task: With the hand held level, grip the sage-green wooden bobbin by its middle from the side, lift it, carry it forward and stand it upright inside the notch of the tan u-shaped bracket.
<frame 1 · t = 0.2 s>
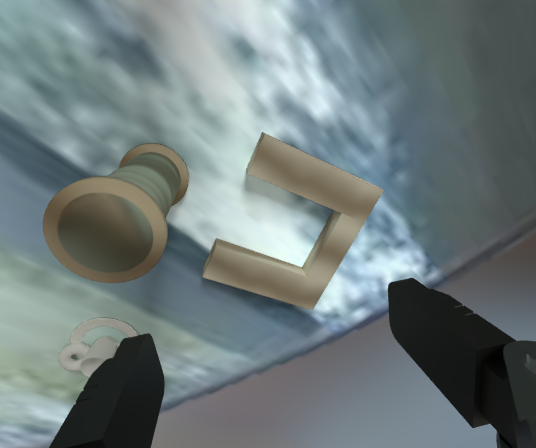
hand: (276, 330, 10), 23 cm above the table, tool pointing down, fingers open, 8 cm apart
bobbin: (155, 176, 30), on the table
teacup and saucer: (86, 327, 36), on the table
tan u-shaped bracket: (288, 227, 34), on the table
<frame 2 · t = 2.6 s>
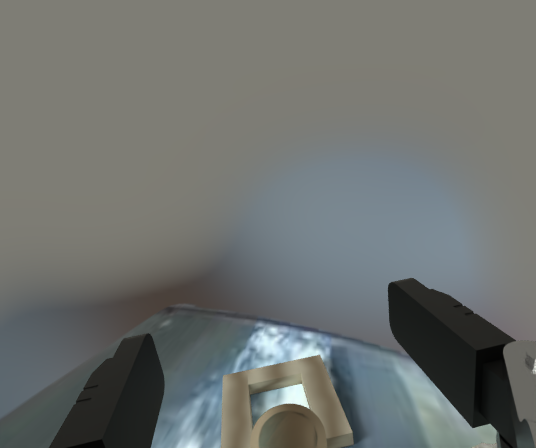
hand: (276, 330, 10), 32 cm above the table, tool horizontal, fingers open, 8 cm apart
tan u-shaped bracket: (280, 410, 44), on the table
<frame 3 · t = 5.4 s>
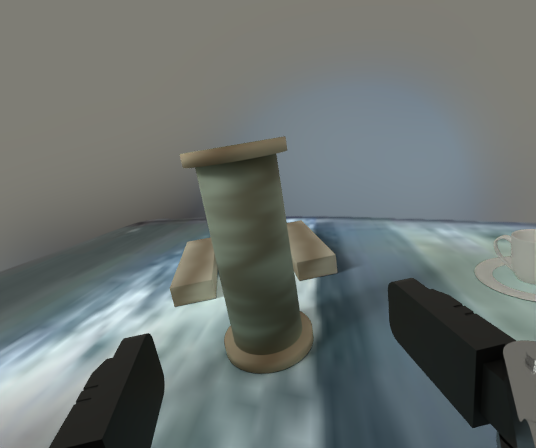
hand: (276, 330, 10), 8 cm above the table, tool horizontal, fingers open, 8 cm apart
bobbin: (269, 340, 22), on the table
tan u-shaped bracket: (252, 262, 36), on the table
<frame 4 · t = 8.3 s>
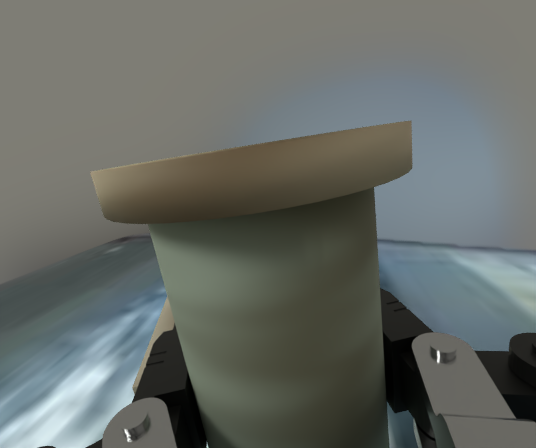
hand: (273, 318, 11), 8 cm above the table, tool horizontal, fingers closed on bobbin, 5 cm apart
tan u-shaped bracket: (265, 317, 25), on the table
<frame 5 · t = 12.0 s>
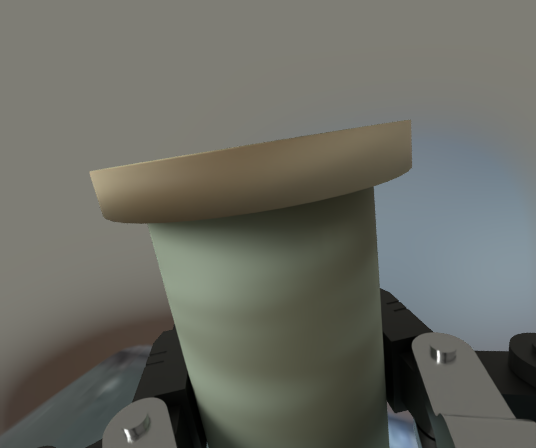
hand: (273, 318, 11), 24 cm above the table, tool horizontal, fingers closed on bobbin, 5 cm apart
when the fingers open (9 cm above the table, at t = 16.1 s): bobbin drops 1 cm, resting in tan u-shaped bracket.
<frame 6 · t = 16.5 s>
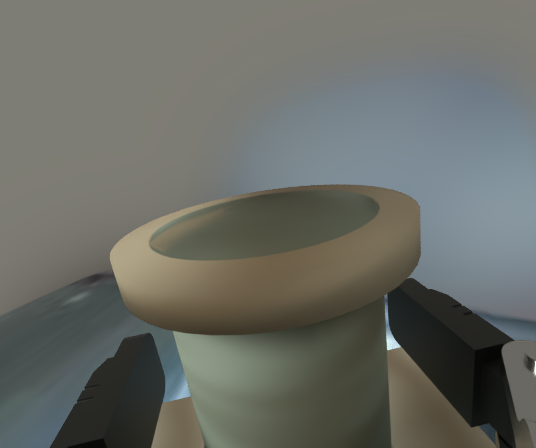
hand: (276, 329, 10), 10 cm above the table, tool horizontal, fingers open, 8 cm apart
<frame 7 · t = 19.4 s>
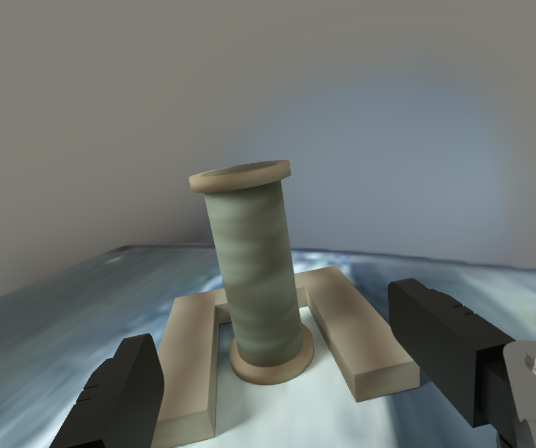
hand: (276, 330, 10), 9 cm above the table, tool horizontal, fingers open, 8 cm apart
bobbin: (272, 351, 23), resting in tan u-shaped bracket
tan u-shaped bracket: (270, 342, 24), on the table
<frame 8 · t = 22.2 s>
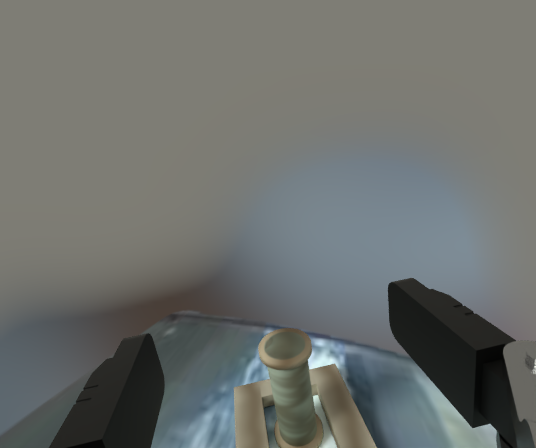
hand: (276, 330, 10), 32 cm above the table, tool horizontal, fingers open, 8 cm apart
bobbin: (298, 432, 40), resting in tan u-shaped bracket
tan u-shaped bracket: (297, 424, 41), on the table
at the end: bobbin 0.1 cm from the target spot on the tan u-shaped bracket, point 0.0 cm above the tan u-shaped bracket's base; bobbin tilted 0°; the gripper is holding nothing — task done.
